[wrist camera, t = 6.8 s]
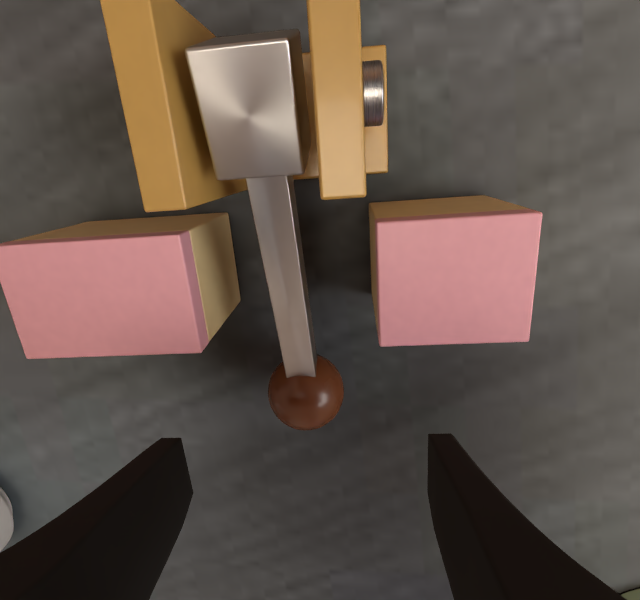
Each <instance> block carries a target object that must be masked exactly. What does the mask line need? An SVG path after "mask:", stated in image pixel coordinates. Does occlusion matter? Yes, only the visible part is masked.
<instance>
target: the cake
mask: <svg viewBox="0 0 640 600" xmlns="http://www.w3.org/2000/svg"><path fill="white" fill-rule="evenodd" d="M0 283H1V286H2V289H3V292H4V294H5V297H6V300H7V303H8V306H9V309H10V312H11V315H12V318H13V320H14V323H15V326H16V329H17V332H18V335H19V338H20V341H21V344H22V346H23V349H24V352H25V355H26V358H27V359H37V358H67V357H96V356H126V355H155V354H184V353H201V352H202V351H203V350H204V348H205V347H206V346H207V345H208V343H209V341H210V340H211V339H212V338H213V336H214V335H215V334H216V332H217V331H218V330H219V328H220V327H221V326H222V324H223V323H224V322H225V321H226V319H227V318H228V317H229V315H230V314H231V313H232V311H233V310H234V309H235V307H236V306H237V305H238V304H239V302H240V301H241V298H240V291H239V284H238V277H237V270H236V263H235V257H234V250H233V243H232V236H231V229H230V222H229V215H228V213H227V212H224V213H209V214H194V215H179V216H164V217H149V218H134V219H119V220H104V221H89V222H85V223H81V224H77V225H73V226H69V227H65V228H61V229H57V230H53V231H49V232H45V233H41V234H37V235H33V236H29V237H25V238H21V239H17V240H13V241H8V242H4V243H0Z"/></svg>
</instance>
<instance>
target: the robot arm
mask: <svg viewBox="0 0 640 600" xmlns="http://www.w3.org/2000/svg"><path fill="white" fill-rule="evenodd" d="M192 495H193V489H192V485H191V481H190V476H189V472H188V467H187V463H186V458H185V454H184V449H183V445H182V440H181V438H161V439H160V440H158V441H157V442H155V443H154V444H153V445H151V446H150V447H149V448H147V449H146V450H145V451H144V452H142V453H141V454H140V455H139V456H137V457H136V458H135V459H134V460H132V461H131V462H130V463H128V464H127V465H126V466H125V467H123V468H122V469H121V470H120V471H118V472H117V473H116V474H115V475H113V476H112V477H111V478H109V479H108V480H107V481H106V482H104V483H103V484H102V485H101V486H99V487H98V488H97V489H95V490H94V491H93V492H91V493H90V494H88V495H87V496H86V497H84V498H83V499H82V500H80V501H79V502H78V503H76V504H75V505H73V506H72V507H71V508H69V509H68V510H67V511H65V512H64V513H62V514H61V515H60V516H58V517H57V518H55V519H54V520H52V521H51V522H49V523H48V524H46V525H45V526H43V527H42V528H40V529H39V530H37V531H36V532H34V533H32V534H31V535H29V536H28V537H26V538H24V539H23V540H21V541H20V542H18V543H16V544H15V545H13V546H12V547H10V548H8V549H6V550H5V551H3V552H1V553H0V600H149V598H150V596H151V594H152V592H153V589H154V587H155V585H156V583H157V581H158V579H159V577H160V574H161V572H162V570H163V568H164V566H165V564H166V562H167V559H168V557H169V555H170V553H171V551H172V549H173V546H174V544H175V542H176V540H177V538H178V535H179V533H180V531H181V529H182V526H183V523H184V520H185V517H186V514H187V511H188V508H189V505H190V501H191V498H192ZM428 497H429V503H430V509H431V515H432V520H433V526H434V530H435V534H436V538H437V541H438V545H439V548H440V552H441V555H442V559H443V562H444V566H445V569H446V573H447V576H448V580H449V583H450V586H451V590H452V593H453V597H454V600H627V599H625V598H624V597H622V596H621V595H620V594H618V593H617V592H615V591H614V590H613V589H611V588H610V587H609V586H607V585H606V584H605V583H603V582H602V581H601V580H599V579H598V578H597V577H595V576H594V575H593V574H591V573H590V572H589V571H587V570H586V569H585V568H583V567H582V566H581V565H580V564H578V563H577V562H576V561H574V560H573V559H572V558H571V557H570V556H568V555H567V554H566V553H565V552H563V551H562V550H561V549H560V548H559V547H558V546H556V545H555V544H554V543H553V542H552V541H551V540H550V539H548V538H547V537H546V536H545V535H544V534H543V533H542V532H541V531H540V530H538V529H537V528H536V527H535V526H534V525H533V524H532V523H531V522H530V521H529V520H528V519H527V518H526V517H525V516H524V515H523V514H522V513H521V512H520V511H519V510H518V509H517V508H516V507H515V506H514V505H513V504H512V503H511V502H510V501H509V500H508V499H507V498H506V497H505V496H504V495H503V494H502V493H501V492H500V491H499V490H498V488H497V487H496V486H495V485H494V484H493V483H492V482H491V481H490V480H489V478H488V477H487V476H486V475H485V474H484V473H483V472H482V471H481V469H480V468H479V467H478V466H477V465H476V463H475V462H474V461H473V460H472V459H471V457H470V456H469V455H468V454H467V452H466V451H465V450H464V449H463V447H462V446H461V445H460V444H459V442H458V441H457V440H456V438H455V437H454V436H453V435H452V434H428Z"/></svg>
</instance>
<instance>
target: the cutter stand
mask: <svg viewBox="0 0 640 600" xmlns="http://www.w3.org/2000/svg"><path fill="white" fill-rule="evenodd" d="M306 1H307V15H308V29H309V43H310V52H308V53H302V58H303V67H304V77H305V87H306V97H307V107H308V117H309V126H310V136H311V146H310V151H309V155H308V160H307V165H306V169H305V173H304V174H301V175H293V180H296V179H309V178H319V184H320V197H321V199H323V200H332V199H347V198H362V197H365V196H366V193H367V192H366V174H378V173H387V172H388V127H387V69H386V46H385V45H376V46H366V47H361V19H360V0H306ZM100 2H101V7H102V11H103V16H104V21H105V26H106V30H107V35H108V40H109V45H110V49H111V54H112V59H113V64H114V68H115V73H116V78H117V82H118V87H119V92H120V97H121V101H122V106H123V111H124V116H125V120H126V125H127V130H128V134H129V139H130V144H131V149H132V153H133V158H134V163H135V168H136V172H137V177H138V182H139V187H140V191H141V196H142V201H143V205H144V210H145V212H157V211H172V210H186V209H189V208H192V207H195V206H198V205H201V204H204V203H207V202H210V201H214V200H217V199H220V198H223V197H226V196H229V195H232V194H235V193H238V192H241V191H244V190H247V189H248V187H247V182H246V179H234V180H217V178H216V176H215V172H214V168H213V164H212V160H211V156H210V152H209V148H208V144H207V140H206V136H205V132H204V128H203V124H202V120H201V116H200V112H199V108H198V104H197V100H196V96H195V92H194V88H193V84H192V80H191V76H190V72H189V68H188V64H187V60H186V56H185V49H186V48H187V47H189V46H192V45H195V44H198V43H201V42H203V41H206V40H209V39H212V38H215V37H216V36H215V35H214V34H212V33H211V32H210V31H209V30H208V29H207V28H206V27H204V26H203V25H202V24H201V23H200V22H199V21H198V20H197V19H195V18H194V17H193V16H192V15H191V14H190V13H189V12H187V11H186V10H185V9H184V8H183V7H182V6H181V5H179V4H178V3H177V2H176V1H175V0H100Z"/></svg>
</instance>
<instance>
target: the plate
mask: <svg viewBox="0 0 640 600" xmlns="http://www.w3.org/2000/svg"><path fill="white" fill-rule="evenodd" d="M621 596H622V597H624V598H625V599H627V600H640V589H636V590H633V591H629V592H626V593H624V594H621Z"/></svg>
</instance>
